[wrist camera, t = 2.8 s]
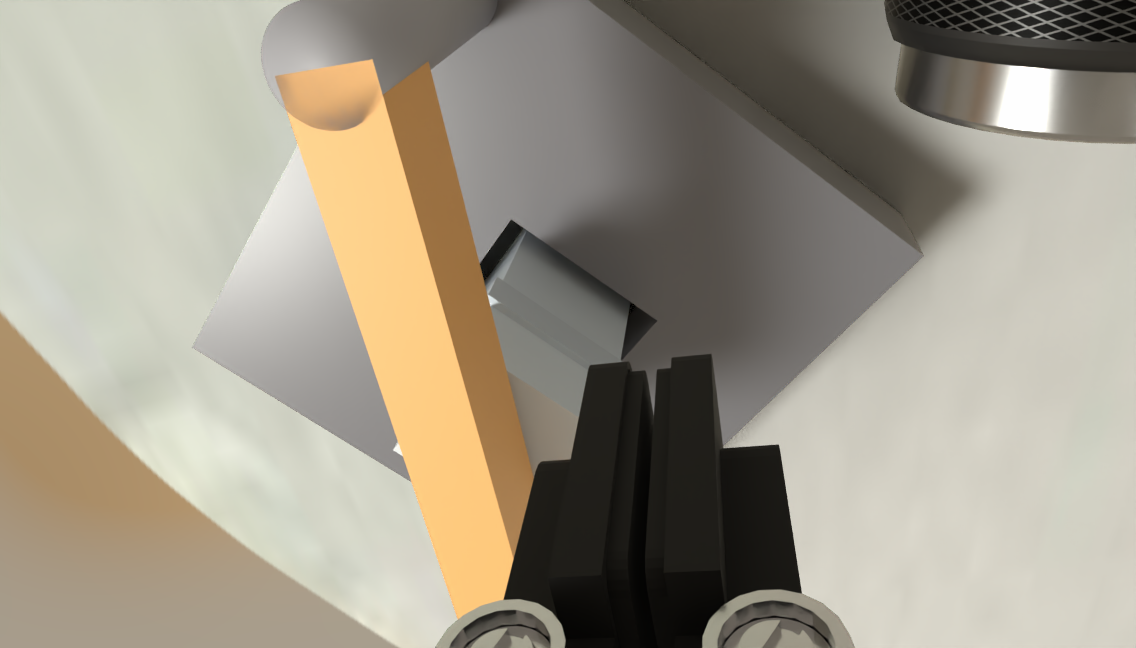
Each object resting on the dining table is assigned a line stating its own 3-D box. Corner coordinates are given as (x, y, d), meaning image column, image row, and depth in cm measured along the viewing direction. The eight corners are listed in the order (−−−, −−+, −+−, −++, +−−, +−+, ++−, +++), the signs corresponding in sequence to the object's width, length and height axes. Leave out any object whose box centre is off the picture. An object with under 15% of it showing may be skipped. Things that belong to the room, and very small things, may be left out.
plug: (643, 277, 32) (620, 435, 23) (569, 364, 34) (522, 537, 26) (534, 201, 31) (468, 335, 22) (466, 296, 33) (381, 450, 25)
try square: (406, -44, 24) (242, 11, 15) (487, -60, 23) (363, -12, 15) (523, 425, 31) (456, 635, 23) (587, 420, 31) (541, 634, 22)
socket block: (901, 213, 29) (923, 255, 26) (587, 525, 38) (577, 583, 35) (466, -120, 26) (434, -117, 23) (236, 304, 35) (191, 347, 32)
